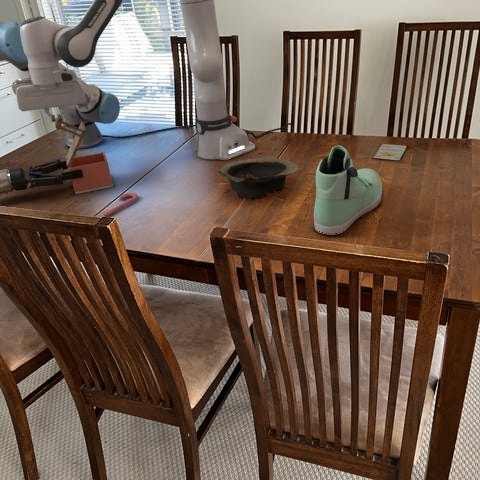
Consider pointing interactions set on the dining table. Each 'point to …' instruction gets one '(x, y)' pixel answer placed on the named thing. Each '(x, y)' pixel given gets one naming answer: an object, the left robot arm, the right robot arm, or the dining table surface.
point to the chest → (91, 173)
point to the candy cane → (122, 203)
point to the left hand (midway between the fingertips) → (81, 167)
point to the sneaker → (343, 192)
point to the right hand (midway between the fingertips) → (57, 120)
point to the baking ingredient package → (390, 152)
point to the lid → (76, 141)
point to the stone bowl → (257, 176)
